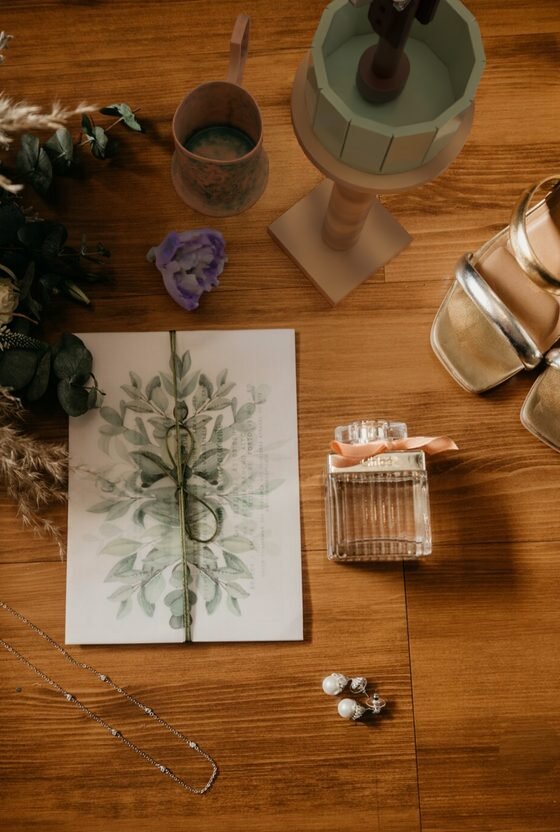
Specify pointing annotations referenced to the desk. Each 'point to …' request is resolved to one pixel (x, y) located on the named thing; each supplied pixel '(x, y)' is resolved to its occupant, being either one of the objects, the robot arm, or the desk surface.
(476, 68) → the bowl
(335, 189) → the stand
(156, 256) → the flower
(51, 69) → the desk surface
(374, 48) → the dark brown stemmed peg
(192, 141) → the mug
